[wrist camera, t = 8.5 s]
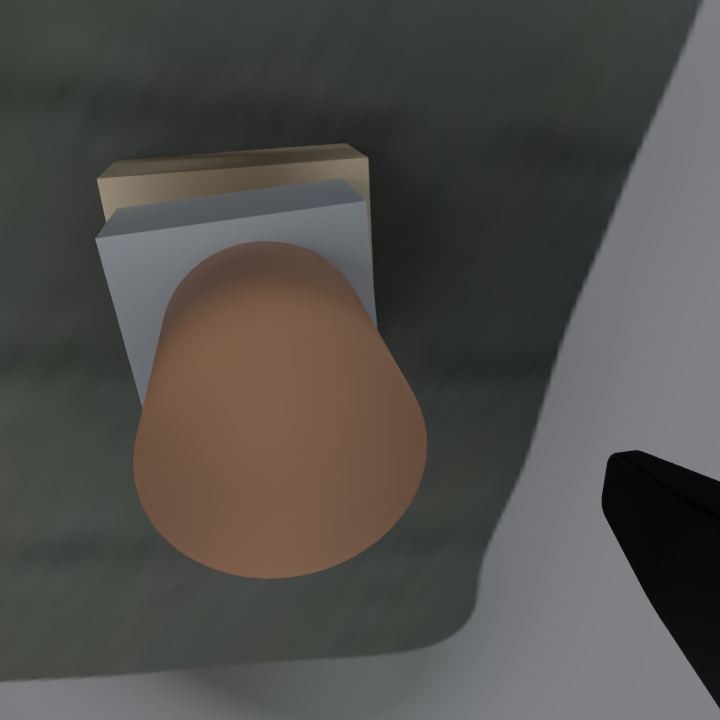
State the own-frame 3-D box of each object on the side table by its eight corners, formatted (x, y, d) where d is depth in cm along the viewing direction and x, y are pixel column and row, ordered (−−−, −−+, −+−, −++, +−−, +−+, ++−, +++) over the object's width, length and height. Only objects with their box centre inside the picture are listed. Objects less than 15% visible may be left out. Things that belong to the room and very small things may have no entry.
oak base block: (159, 365, 21) (148, 418, 18) (117, 158, 18) (96, 178, 15) (355, 341, 22) (377, 388, 19) (344, 141, 19) (368, 157, 16)
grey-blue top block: (168, 406, 18) (158, 467, 15) (116, 208, 16) (94, 238, 13) (362, 372, 19) (385, 424, 16) (342, 178, 16) (365, 200, 14)
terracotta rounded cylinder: (125, 377, 14) (80, 521, 10) (226, 200, 13) (228, 271, 9) (299, 456, 16) (330, 610, 11) (403, 305, 15) (481, 411, 10)
